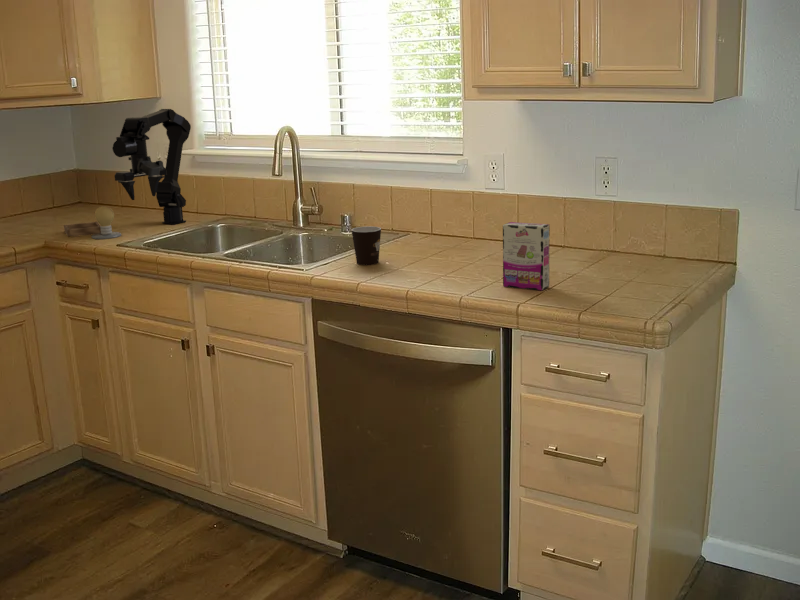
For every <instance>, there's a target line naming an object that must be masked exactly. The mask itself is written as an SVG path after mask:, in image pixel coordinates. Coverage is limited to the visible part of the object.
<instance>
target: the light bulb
mask: <svg viewBox="0 0 800 600" xmlns="http://www.w3.org/2000/svg"><path fill="white" fill-rule="evenodd" d="M114 212H115V211H114V210H113V209H112V208H111V207H109V206H105V205H103V206H99V207H98V208H96V209H95V212H94V218H95V220H96V222H98V223H99V224H100V228H101V234H102V235H110V234H111V233H112V232H113V231H112V230H113V229H112V225H111V224H112V222H113V220H114V218H115V213H114Z"/></svg>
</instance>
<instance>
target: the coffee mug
mask: <svg viewBox="0 0 800 600" xmlns="http://www.w3.org/2000/svg"><path fill="white" fill-rule="evenodd" d="M381 235H382V228H381V227H378V226H372V225H371V226H369V225H368V226H366V225H365V226H358V227H354V228H351V236H352V241H353V247H354V248H353V249H354V253H355V254H354V255H355V260H356V264H357V265H359V266H374V265H377V264H378V263H379V262H380V261H379V260H380V248H381V247H380V246H381Z"/></svg>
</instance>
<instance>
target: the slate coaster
mask: <svg viewBox="0 0 800 600" xmlns="http://www.w3.org/2000/svg"><path fill="white" fill-rule="evenodd" d="M120 237H122V233H121V232H118V231H112V233H111V234H110V235H102V234H101V233H97V234H93V235H91V239H93V240H109V239H110V240H111V239H115V238H120Z"/></svg>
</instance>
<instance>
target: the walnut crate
mask: <svg viewBox="0 0 800 600" xmlns="http://www.w3.org/2000/svg"><path fill="white" fill-rule="evenodd" d="M100 226H101V225H100V224H99V223H98V221H89V222H81V223H71V224H64V225H63V228H64V229H63V230H64V233H65V234H67V235H66V236H67V237H68V236H74V237H80V236H79V235H84V236H90V235H91V234H93V235H94V234H97V233H101V228H100ZM91 236H92V235H91Z"/></svg>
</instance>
